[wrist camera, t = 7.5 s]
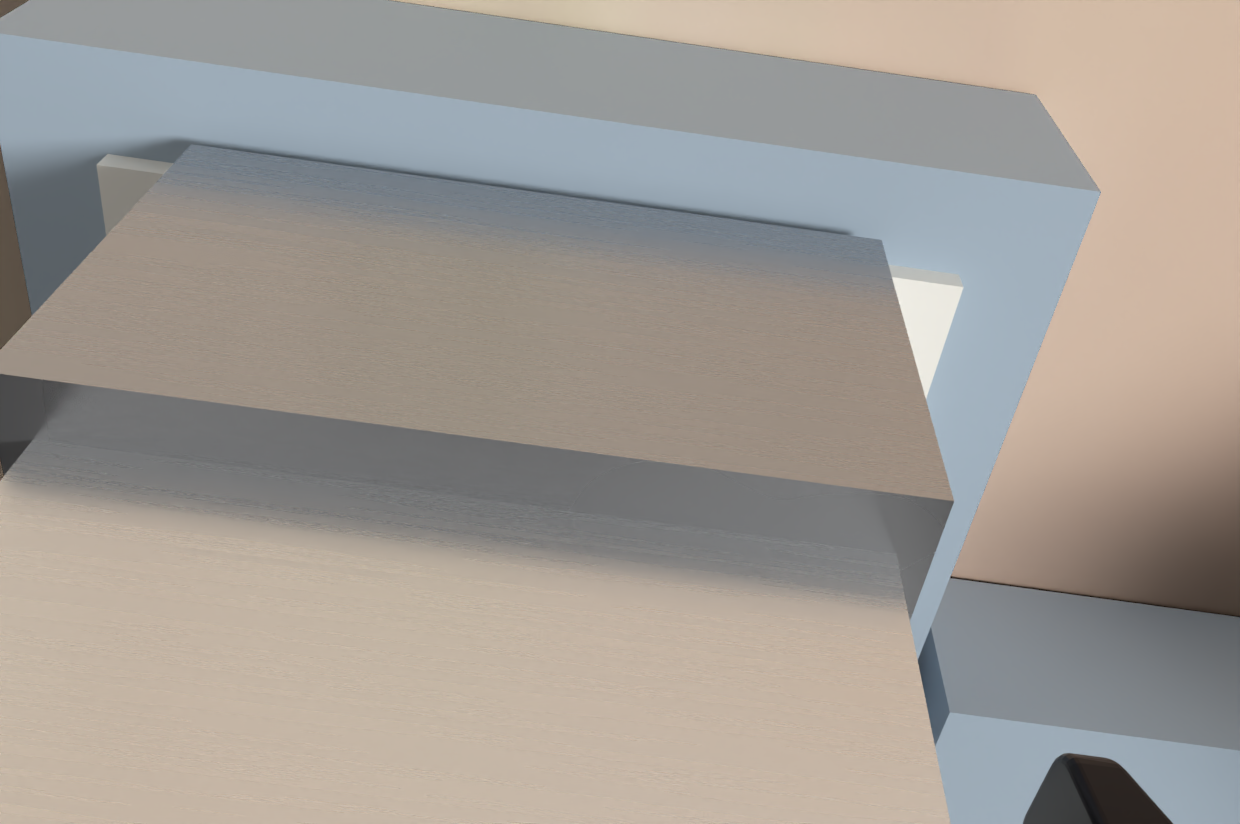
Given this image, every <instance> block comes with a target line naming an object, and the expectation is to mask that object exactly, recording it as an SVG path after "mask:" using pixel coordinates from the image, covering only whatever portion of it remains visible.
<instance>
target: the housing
mask: <svg viewBox="0 0 1240 824" xmlns="http://www.w3.org/2000/svg"><path fill="white" fill-rule="evenodd" d="M0 460H1V465H2V469H3V473H4V477H3V478H2V479H1V481H0V824H951V823H950V818H949V813H948V808H947V803H946V798H945V793H944V788H943V783H942V778H941V773H940V768H939V764H938V759H937V754H936V749H935V744H934V739H933V734H932V729H931V724H930V719H929V714H928V709H927V704H926V699H925V694H924V689H923V684H922V679H921V675H920V670H919V665H918V660H917V655H916V650H915V645H914V640H913V635H912V630H911V625H910V620H911V617H912V614H913V611H914V609H915V606H916V603H917V601H918V598H919V595H920V592H921V590H922V587H923V584H924V582H925V579H926V576H927V574H928V571H929V568H930V565H931V563H932V560H933V557H934V555H935V552H936V549H937V547H938V544H939V541H940V538H941V536H942V533H943V530H944V528H945V525H946V522H947V519H948V517H949V514H950V511H951V509H952V506H953V503H954V499H953V495H952V491H951V488H950V484H949V481H948V477H947V473H946V470H945V466H944V463H943V459H942V455H941V452H940V448H939V445H938V441H937V437H936V434H935V430H934V427H933V423H932V419H931V416H930V412H929V409H928V405H927V401H926V398H925V394H924V391H923V387H922V383H921V380H920V376H919V373H918V369H917V365H916V362H915V358H914V355H913V351H912V347H911V344H910V340H909V337H908V333H907V329H906V326H905V322H904V319H903V315H902V311H901V308H900V304H899V301H898V297H897V293H896V290H895V286H894V283H893V279H892V276H891V272H890V268H889V265H888V261H887V258H886V254H885V250H884V247H883V243H882V240H879V239H872V238H864V237H857V236H850V235H843V234H836V233H828V232H821V231H814V230H807V229H799V228H792V227H785V226H778V225H771V224H763V223H756V222H749V221H742V220H734V219H727V218H720V217H713V216H706V215H698V214H691V213H684V212H677V211H670V210H662V209H655V208H648V207H641V206H633V205H626V204H619V203H612V202H605V201H597V200H590V199H583V198H576V197H568V196H561V195H554V194H547V193H540V192H532V191H525V190H518V189H511V188H503V187H496V186H489V185H482V184H475V183H467V182H460V181H453V180H446V179H439V178H431V177H424V176H417V175H410V174H402V173H395V172H388V171H381V170H374V169H366V168H359V167H352V166H345V165H337V164H330V163H323V162H316V161H309V160H301V159H294V158H287V157H280V156H273V155H265V154H258V153H251V152H244V151H236V150H229V149H222V148H215V147H208V146H200V145H193V144H191V145H190V146H189V148H188V149H187V150H186V151H185V152H184V153H183V154H182V155H181V156H180V157H179V158H178V159H177V160H176V162H175V163H174V164H173V165H172V166H171V167H170V168H169V169H168V170H167V171H166V172H165V173H164V174H163V175H162V177H161V178H160V179H159V180H158V181H157V182H156V183H155V184H154V185H153V186H152V187H151V188H150V189H149V191H148V192H147V193H146V194H145V195H144V196H143V197H142V198H141V199H140V200H139V201H138V202H137V203H136V205H135V206H134V207H133V208H132V209H131V210H130V211H129V212H128V213H127V214H126V215H125V216H124V217H123V218H122V220H121V221H120V222H119V223H118V224H117V225H116V226H115V227H114V228H113V229H112V230H111V231H110V232H109V234H108V235H107V236H106V237H105V238H104V239H103V240H102V241H101V242H100V243H99V244H98V245H97V246H96V248H95V249H94V250H93V251H92V252H91V253H90V254H89V255H88V256H87V257H86V258H85V259H84V260H83V261H82V263H81V264H80V265H79V266H78V267H77V268H76V269H75V270H74V271H73V272H72V273H71V274H70V275H69V277H68V278H67V279H66V280H65V281H64V282H63V283H62V284H61V285H60V286H59V287H58V288H57V289H56V291H55V292H54V293H53V294H52V295H51V296H50V297H49V298H48V299H47V300H46V301H45V302H44V303H43V304H42V306H41V307H40V308H39V309H38V310H37V311H36V312H35V313H34V314H33V315H32V316H31V317H30V318H29V320H28V321H27V322H26V323H25V324H24V325H23V326H22V327H21V328H20V329H19V330H18V331H17V332H16V334H15V335H14V336H13V337H12V338H11V339H10V340H9V341H8V342H7V343H6V344H5V345H4V346H3V347H2V349H1V350H0Z"/></svg>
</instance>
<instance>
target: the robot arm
mask: <svg viewBox="0 0 1240 824" xmlns="http://www.w3.org/2000/svg"><path fill="white" fill-rule="evenodd" d="M1023 824H1173V823H1172V822H1171V820H1170V819H1169V818H1168V817H1167V816H1166V815H1165V814H1164V813H1163V811H1162V810H1161V809H1160V808H1159V807H1158V806H1157V805H1156V804H1155V802H1154V801H1153V800H1152V799H1151V798H1150V797H1149V796H1148V795H1147V793H1146V792H1145V791H1144V790H1143V789H1142V788H1141V787H1140V786H1139V784H1138V783H1137V782H1136V781H1135V780H1134V779H1133V778H1132V777H1131V775H1130V774H1129V773H1128V772H1127V771H1126V770H1125V769H1124V768H1123V767H1122V766H1121V765H1120V764H1118V763H1117V762H1115V761H1114V760H1111V759H1108V758H1104V757H1097V756H1089V755H1081V754H1074V753H1064V754H1062V755H1060V756H1059V757H1057V758H1056V759H1055V760H1054V762H1053V763H1052V765H1051V767H1050V769H1049V771H1048V772H1047V774H1046V776H1045V778H1044V780H1043V782H1042V784H1041V786H1040V788H1039V790H1038V792H1037V794H1036V796H1035V797H1034V799H1033V801H1032V803H1031V805H1030V807H1029V809H1028V811H1027V813H1026V815H1025V818H1024V821H1023Z"/></svg>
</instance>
